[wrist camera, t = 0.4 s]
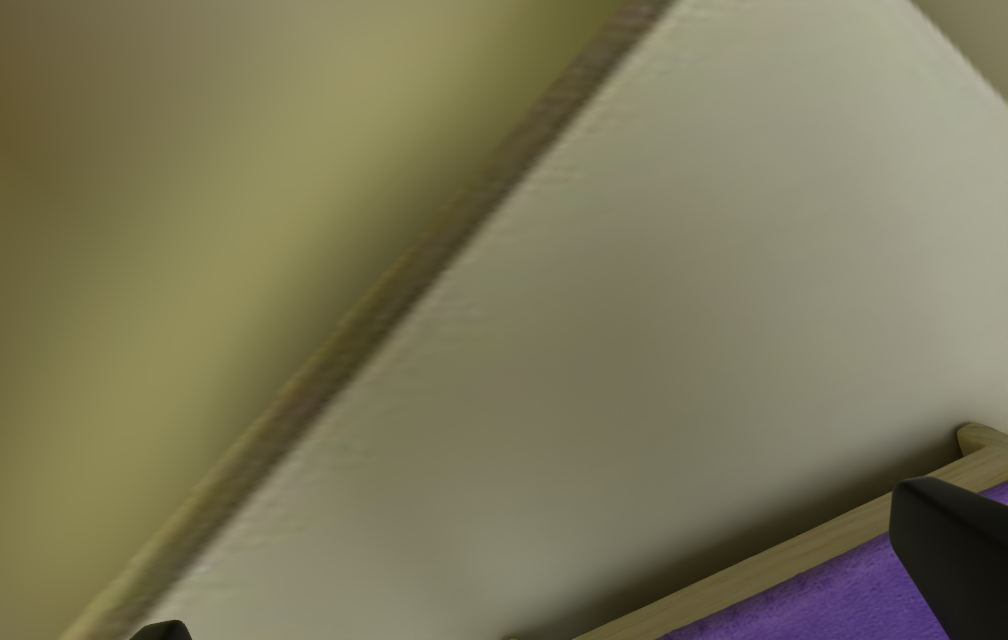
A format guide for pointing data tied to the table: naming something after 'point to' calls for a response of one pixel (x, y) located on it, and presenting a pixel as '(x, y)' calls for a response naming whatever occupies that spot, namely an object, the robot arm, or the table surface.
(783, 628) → the toy sofa
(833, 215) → the table surface
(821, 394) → the table surface
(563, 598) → the table surface
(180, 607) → the table surface
